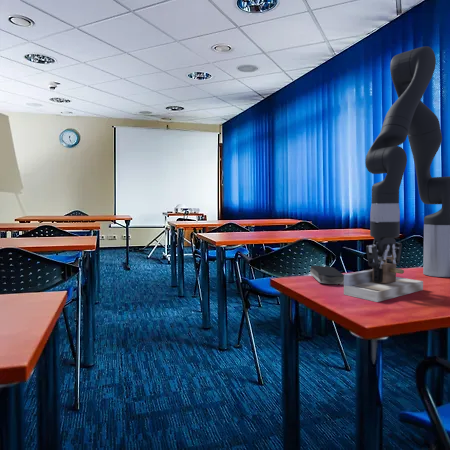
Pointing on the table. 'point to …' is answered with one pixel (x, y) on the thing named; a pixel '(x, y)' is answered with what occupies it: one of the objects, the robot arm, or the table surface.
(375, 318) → the table surface
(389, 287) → the grey flat tray
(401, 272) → the brown block with peg
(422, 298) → the table surface
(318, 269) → the black sponge
